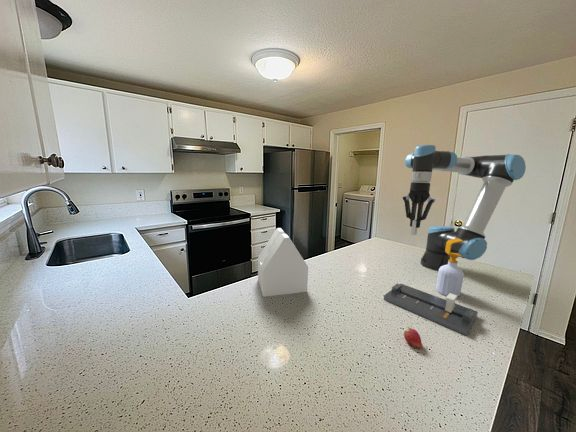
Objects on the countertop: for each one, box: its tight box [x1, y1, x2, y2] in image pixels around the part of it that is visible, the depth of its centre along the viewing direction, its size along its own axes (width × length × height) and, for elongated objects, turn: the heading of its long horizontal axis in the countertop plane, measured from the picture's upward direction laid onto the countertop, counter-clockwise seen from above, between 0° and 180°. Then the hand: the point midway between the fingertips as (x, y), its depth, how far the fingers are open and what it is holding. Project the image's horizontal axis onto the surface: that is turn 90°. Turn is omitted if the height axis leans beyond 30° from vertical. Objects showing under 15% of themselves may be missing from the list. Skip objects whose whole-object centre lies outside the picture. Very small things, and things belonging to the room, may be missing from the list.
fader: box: [445, 293, 458, 312], centre depth 86 cm, size 5×2×5 cm, turn 132°
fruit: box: [403, 325, 423, 349], centre depth 72 cm, size 4×6×5 cm
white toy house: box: [257, 227, 309, 298], centre depth 104 cm, size 19×15×25 cm
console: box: [383, 283, 479, 336], centre depth 92 cm, size 16×28×4 cm, turn 42°
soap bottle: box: [435, 238, 465, 298], centre depth 102 cm, size 9×9×25 cm
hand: (413, 234), depth 107 cm, fingers closed
